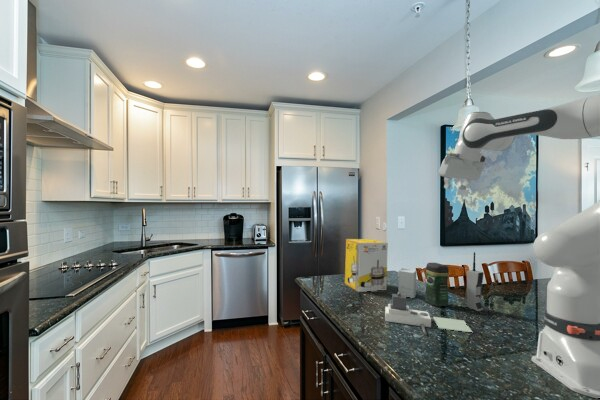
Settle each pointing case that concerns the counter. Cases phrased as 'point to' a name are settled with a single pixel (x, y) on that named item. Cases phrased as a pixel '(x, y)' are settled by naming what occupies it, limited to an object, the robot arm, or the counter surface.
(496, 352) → the counter surface
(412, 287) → the supplement box
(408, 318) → the power strip
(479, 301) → the vintage mobile phone
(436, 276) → the coffee jar
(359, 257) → the packaging box
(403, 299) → the block
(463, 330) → the mat
